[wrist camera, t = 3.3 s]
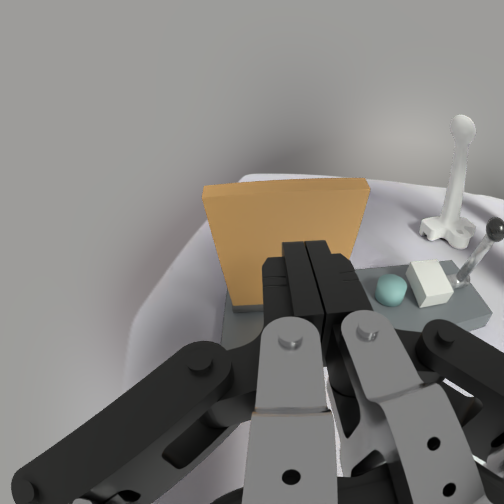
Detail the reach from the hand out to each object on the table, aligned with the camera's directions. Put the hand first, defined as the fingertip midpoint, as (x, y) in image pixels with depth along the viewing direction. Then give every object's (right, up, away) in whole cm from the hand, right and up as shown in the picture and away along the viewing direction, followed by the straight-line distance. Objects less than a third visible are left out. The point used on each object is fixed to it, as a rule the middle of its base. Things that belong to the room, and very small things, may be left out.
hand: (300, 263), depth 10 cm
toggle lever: (+21, -3, +14) cm, 25 cm away
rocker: (+16, -3, +14) cm, 22 cm away
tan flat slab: (+1, -4, +15) cm, 15 cm away
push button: (+12, -4, +15) cm, 19 cm away
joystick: (+31, +2, +26) cm, 40 cm away
